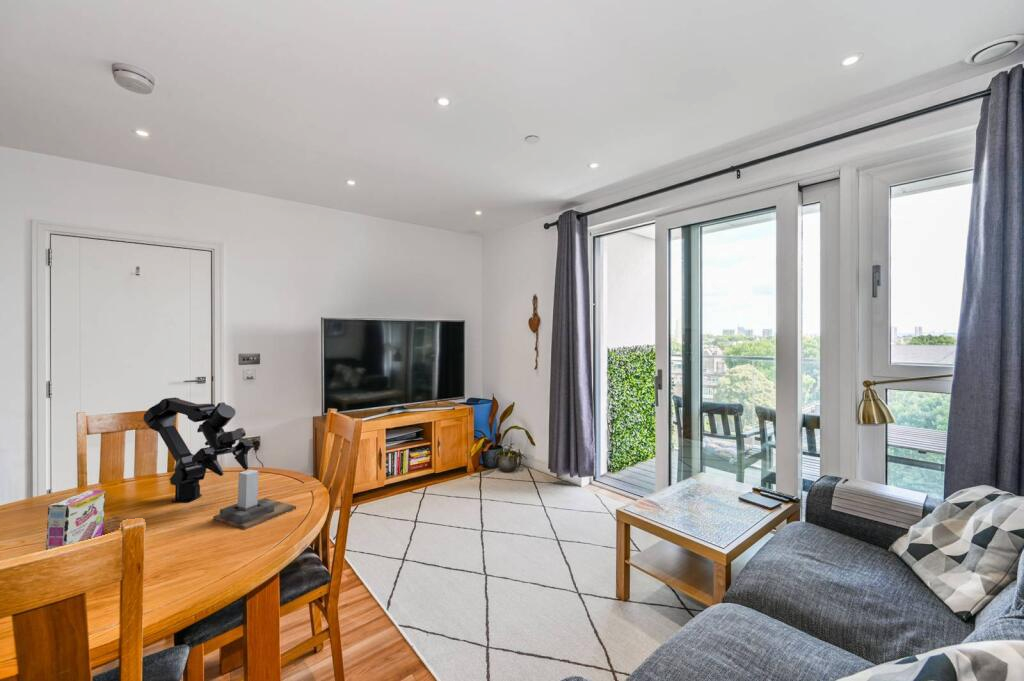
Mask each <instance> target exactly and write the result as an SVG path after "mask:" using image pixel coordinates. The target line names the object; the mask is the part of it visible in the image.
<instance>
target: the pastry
mask: <svg viewBox="0 0 1024 681" xmlns="http://www.w3.org/2000/svg"><path fill="white" fill-rule="evenodd" d="M126 519H128V518H127V517H125V516H122V515H115V516H112V517H111V518H107V519H106V520H104V525H103V535H105V534H108V533H111V532H114V531H116V530H119V528H120V523H121V522H122V521H123V520H126Z"/></svg>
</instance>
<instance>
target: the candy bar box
mask: <svg viewBox="0 0 1024 681" xmlns="http://www.w3.org/2000/svg"><path fill="white" fill-rule="evenodd" d="M105 498H106V491H105V490H86V491H84V492H81V493H78V494H76V495H73V496H70V497H68V498H65V499H62V500H60V501H57V502H55V503H52V504H49V505H48V506H47V523H46V524H47V525H46V547H45V548H46V549H45V551H46V550H48V549H52V548H55V547H59V546H64V545H68V544H72V543H76V542H80V541H84V540H88V539H92V538H95V537H98V536H102V535H103V525H104V522H105V520H104V519H105V518H104V517H105V501H106V499H105Z"/></svg>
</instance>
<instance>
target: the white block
mask: <svg viewBox="0 0 1024 681" xmlns="http://www.w3.org/2000/svg"><path fill="white" fill-rule="evenodd" d="M237 483H238V486H237V487H238V488H237V489H238V490H237V503H238V510H241V511H244V512H245V511H248V510H251V509H254V508H256V507H257V505H258V500H259V499H258V498H259V470H255V469H254V470H253V469H247V470H243V471H241V472H238V482H237Z"/></svg>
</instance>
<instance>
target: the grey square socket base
mask: <svg viewBox="0 0 1024 681" xmlns="http://www.w3.org/2000/svg"><path fill="white" fill-rule="evenodd" d="M295 508H296V509H297V505H293V504H290V503H285V502H281V501H279V500H274V499H271V498H267V497H264V498H261V499H258V505H257V507H256V508H254V509H251V510H248V511H245V512H244V511H241V510H238V502H237V503H234V504H232V505H230V506H227V507H223V508H220V509H219V514H215V515H213V516H212V517H213V518H214V519H216V520H215V521H217V520H219V521H218V522H220V521H222V522H221V523H224V522H225V523H224V524H227V523H228V525H231V526H234V527H236V528H239V529H243V530H249V529H250V528H253V527H255V526H257V525H260V524H263V523H265V522H267V520H268V521H270V520H273V519H275V518H278V517H280V516H282V515H281V514H283V515H285V514H287V513H286V512H288V513H290V512H292V511H294V510H293V509H295ZM296 509H295V510H296ZM291 510H292V511H291ZM289 511H290V512H289ZM284 513H285V514H284ZM279 515H280V516H279ZM277 516H278V517H277ZM274 517H275V518H274ZM213 518H212V519H213ZM272 518H273V519H272ZM214 519H213V520H214Z"/></svg>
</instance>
